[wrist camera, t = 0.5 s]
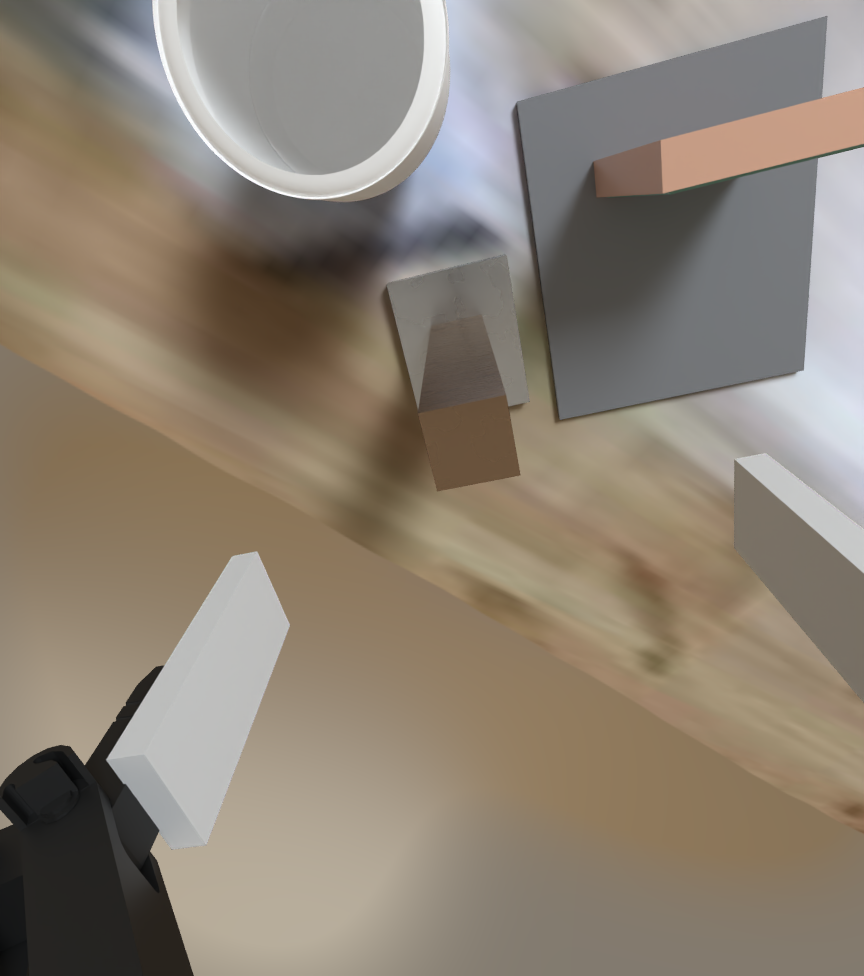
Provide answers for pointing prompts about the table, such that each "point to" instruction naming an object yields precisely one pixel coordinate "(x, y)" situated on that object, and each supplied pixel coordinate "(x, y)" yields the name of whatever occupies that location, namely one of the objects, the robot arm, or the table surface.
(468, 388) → the tall wooden post
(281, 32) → the jar
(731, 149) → the terracotta tile
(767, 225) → the slate rubber mat
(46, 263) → the table surface
